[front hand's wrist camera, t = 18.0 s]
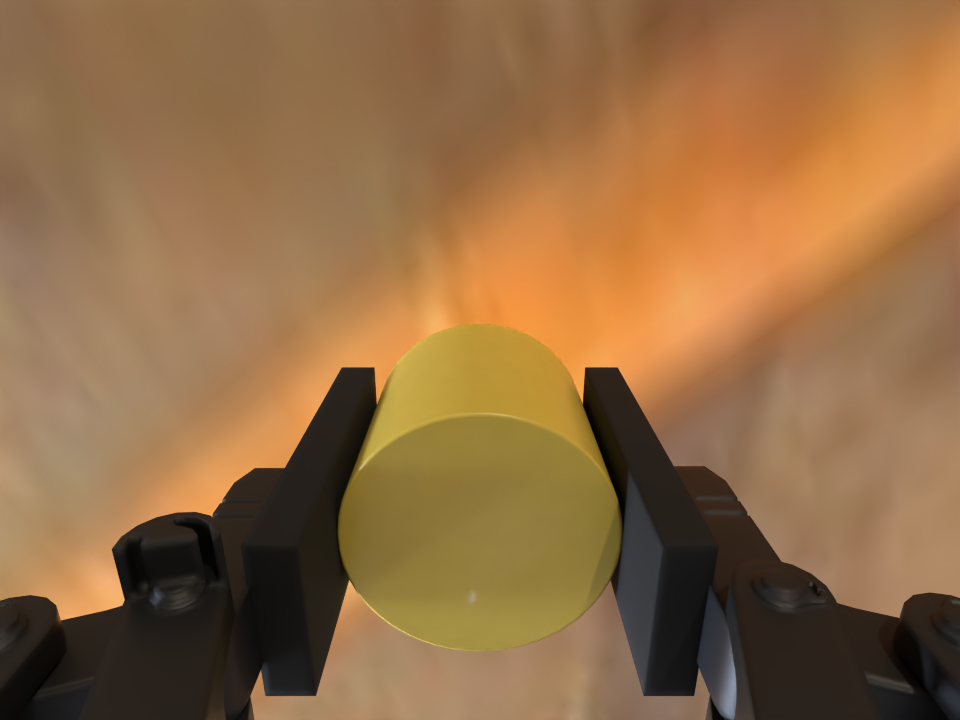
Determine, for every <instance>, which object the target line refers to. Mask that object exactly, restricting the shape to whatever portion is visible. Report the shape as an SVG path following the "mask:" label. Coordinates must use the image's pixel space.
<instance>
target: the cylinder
mask: <svg viewBox="0 0 960 720" xmlns="http://www.w3.org/2000/svg"><path fill="white" fill-rule="evenodd" d="M337 535H338V546H339V551H340V555H341V559H342V563H343V566H344V568H345V570H346V573H347V575H348V578H349V580H350V581H351V583H352V585H353V586H354V588H355V590H356V591H357V593H358V594H359V595H360V596H361V598H362V599H363V600H364V602H365V603H366V604H367V605H368V606H369V607H370V608H371V609H372V610H373V611H374V612H375V613H376V614H377V615H378V616H380V617H381V618H382V619H384V620H385V621H386V622H388V623H389V624H390V625H392V626H393V627H395V628H397V629H398V630H400V631H402V632H404V633H405V634H408V635H410V636H412V637H414V638H416V639H419V640H421V641H424V642H427V643H430V644H433V645H437V646H441V647H446V648H451V649H457V650H467V651H493V650H503V649H509V648H514V647H519V646H523V645H526V644H530V643H533V642H536V641H539V640H541V639H543V638H546V637H548V636H550V635H553V634H555V633H556V632H558V631H560V630H562V629H563V628H565V627H567V626H568V625H570V624H571V623H572V622H574V621H575V620H576V619H578V618H579V617H581V616H582V615H583V614H584V613H585V612H586V611H587V610H588V609H589V608H590V607H591V606H592V605H593V604H594V603H595V601H596V600H597V599H598V598H599V597H600V595H601V594H602V593H603V591H604V590H605V588H606V586H607V585H608V583H609V581H610V580H611V578H612V575H613V573H614V571H615V568H616V566H617V563H618V559H619V555H620V552H621V545H622V535H623V525H622V515H621V510H620V505H619V501H618V498H617V496H616V493H615V490H614V488H613V485H612V482H611V480H610V477H609V474H608V471H607V469H606V466H605V463H604V461H603V458H602V455H601V453H600V450H599V447H598V445H597V442H596V439H595V437H594V434H593V431H592V429H591V426H590V423H589V420H588V418H587V415H586V412H585V410H584V407H583V404H582V402H581V399H580V396H579V394H578V391H577V388H576V386H575V383H574V380H573V378H572V377H571V375H570V373H569V371H568V369H567V368H566V367H565V365H564V364H563V363H562V361H561V360H560V359H559V358H558V357H557V356H556V355H555V354H554V353H553V352H552V351H551V350H550V349H549V348H548V347H546V346H545V345H544V344H542V343H541V342H540V341H538V340H536V339H535V338H533V337H531V336H529V335H527V334H525V333H522V332H520V331H517V330H515V329H511V328H507V327H504V326H498V325H491V324H470V325H461V326H457V327H453V328H449V329H445V330H443V331H440V332H438V333H435V334H433V335H431V336H429V337H427V338H425V339H424V340H422V341H420V342H419V343H418V344H416V345H415V346H414V347H412V348H411V349H410V350H409V351H408V352H407V353H406V354H405V355H404V356H403V357H402V358H401V359H400V360H399V361H398V363H397V364H396V365H395V366H394V368H393V370H392V371H391V373H390V375H389V376H388V378H387V381H386V383H385V386H384V388H383V391H382V393H381V396H380V399H379V401H378V404H377V407H376V409H375V412H374V415H373V418H372V420H371V423H370V426H369V428H368V431H367V434H366V436H365V439H364V442H363V444H362V447H361V450H360V453H359V455H358V458H357V461H356V463H355V466H354V469H353V471H352V474H351V477H350V479H349V482H348V485H347V488H346V490H345V493H344V496H343V498H342V502H341V506H340V510H339V515H338V526H337Z"/></svg>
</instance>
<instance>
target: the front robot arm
mask: <svg viewBox="0 0 960 720" xmlns="http://www.w3.org/2000/svg"><path fill="white" fill-rule="evenodd" d="M376 407H377V401H376V386H375V370H374V368H341V370H340V372H339V374H338V375H337V377H336V379H335V381H334V383H333V384H332V386H331V388H330V390H329V391H328V393H327V395H326V397H325V398H324V400H323V402H322V404H321V405H320V407H319V409H318V411H317V412H316V414H315V416H314V418H313V419H312V421H311V423H310V425H309V427H308V428H307V430H306V432H305V434H304V435H303V437H302V439H301V441H300V442H299V444H298V446H297V448H296V449H295V451H294V453H293V455H292V456H291V458H290V460H289V462H288V463H287V465H286V467H285V468H255V469H253V470H252V471H250V472H249V473H248V474H246V475H245V476H243V477H242V478H240V479H239V480H238V481H236V482H235V483H234V484H233V485H232V487H231V488H230V490H229V491H228V493H227V494H226V496H225V497H224V499H223V502H222V503H220V504H219V506H218V507H217V509H216V510H215V512H214V513H213V517H211V516H210V515H206V514H201V513H197V512H183V513H174V514H169V515H165V516H161V517H156V518H154V519H152V520H149V521H147V522H145V523H142V524H140V525H138V526H136V527H135V528H133V529H132V530H130V531H129V532H128V533H126V534H125V535H123V536H122V537H121V538H120V539H119V541H118V542H117V543H116V544H115V546H114V547H113V548H112V552H113V556H114V560H115V564H116V567H117V571H118V575H119V579H120V583H121V587H122V591H123V595H124V598H125V601H124V603H123V606H120V607H117V608H113V609H110V610H106V611H102V612H97V613H93V614H88V615H84V616H79V617H75V618H70V619H66V620H60V616H59V613H58V610H57V607H56V605H55V604H54V603H53V602H51V601H50V600H49V599H48V598H45V597H39V596H32V595H29V596H21V597H13V598H8V599H5V600H1V601H0V720H254V716H253V709H252V703H251V698H250V695H251V693H252V690H253V688H254V685H255V683H256V680H257V678H258V675H259V673H260V670H261V672H262V678H263V684H264V690H265V696H316V693H317V690H318V686H319V683H320V679H321V676H322V673H323V669H324V666H325V662H326V659H327V655H328V652H329V648H330V645H331V641H332V638H333V634H334V631H335V627H336V624H337V620H338V617H339V613H340V610H341V606H342V603H343V599H344V596H345V592H346V589H347V585H348V582H349V578H348V575H347V573H346V570H345V568H344V566H343V563H342V559H341V555H340V551H339V546H338V535H337V526H338V515H339V510H340V506H341V502H342V498H343V496H344V493H345V490H346V488H347V485H348V482H349V479H350V477H351V474H352V471H353V469H354V466H355V463H356V461H357V458H358V455H359V453H360V450H361V447H362V444H363V442H364V439H365V436H366V434H367V431H368V428H369V426H370V423H371V420H372V418H373V415H374V412H375V409H376ZM583 407H584V410H585V412H586V415H587V418H588V420H589V423H590V426H591V429H592V431H593V434H594V437H595V439H596V442H597V445H598V447H599V450H600V453H601V455H602V458H603V461H604V463H605V466H606V469H607V471H608V474H609V477H610V480H611V482H612V485H613V488H614V490H615V493H616V496H617V498H618V501H619V505H620V510H621V515H622V525H623V535H622V545H621V552H620V555H619V559H618V563H617V566H616V568H615V571H614V573H613V575H612V578H611V583H612V587H613V590H614V594H615V597H616V601H617V604H618V608H619V611H620V615H621V618H622V622H623V625H624V629H625V632H626V636H627V639H628V643H629V646H630V650H631V653H632V657H633V660H634V664H635V667H636V670H637V674H638V677H639V681H640V684H641V688H642V691H643V695H644V696H694V693H695V687H696V681H697V675H698V669H699V668H700V671H701V673H702V676H703V678H704V681H705V683H706V686H707V688H708V691H709V693H710V698H709V703H708V709H707V714H706V720H960V598H958V597H955V596H952V595H944V594H937V593H924V594H917V595H913V596H912V597H911V598H909V599H908V600H907V601H906V602H904V605H903V608H902V611H901V615H900V618H897V617H892V616H888V615H883V614H879V613H874V612H870V611H865V610H861V609H856V608H852V607H849V606H845V605H842V604H838V603H837V602H836V600H835V598H834V597H833V595H832V594H831V592H830V591H829V589H828V588H827V586H826V585H825V584H823V583H822V582H821V581H820V580H818V579H817V578H816V577H815V576H813V575H812V574H810V573H808V572H806V571H804V570H802V569H800V568H798V567H796V566H794V565H791V564H788V563H784V562H781V560H780V559H779V557H778V556H777V555H776V553H775V552H774V550H773V549H772V547H771V546H770V544H769V543H768V541H767V540H766V539H765V537H764V536H763V534H762V533H761V531H760V530H759V528H758V527H757V526H756V524H755V523H754V521H753V520H752V518H751V517H750V516H748V515H747V511H746V510H745V508H744V507H743V505H742V504H741V502H740V501H738V500H737V497H736V495H735V494H734V492H733V491H732V489H731V488H730V486H729V485H728V484H727V482H726V481H725V480H724V479H722V478H721V477H719V476H718V475H716V474H715V473H714V472H712V471H711V470H709V469H708V468H706V467H705V466H673V464H672V463H671V461H670V459H669V457H668V455H667V454H666V452H665V450H664V448H663V447H662V445H661V443H660V441H659V440H658V438H657V436H656V434H655V433H654V431H653V429H652V427H651V426H650V424H649V422H648V420H647V418H646V417H645V415H644V413H643V411H642V410H641V408H640V406H639V404H638V403H637V401H636V399H635V397H634V396H633V394H632V392H631V390H630V389H629V387H628V385H627V383H626V382H625V380H624V378H623V376H622V374H621V373H620V371H619V369H618V368H585V379H584V394H583Z"/></svg>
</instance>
